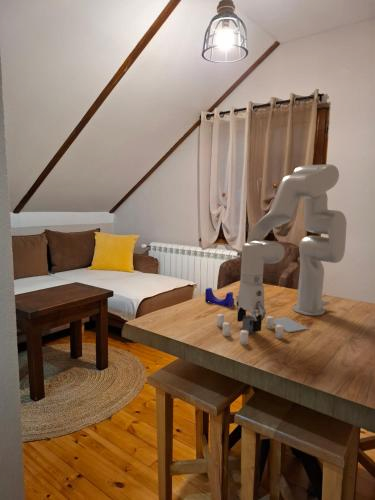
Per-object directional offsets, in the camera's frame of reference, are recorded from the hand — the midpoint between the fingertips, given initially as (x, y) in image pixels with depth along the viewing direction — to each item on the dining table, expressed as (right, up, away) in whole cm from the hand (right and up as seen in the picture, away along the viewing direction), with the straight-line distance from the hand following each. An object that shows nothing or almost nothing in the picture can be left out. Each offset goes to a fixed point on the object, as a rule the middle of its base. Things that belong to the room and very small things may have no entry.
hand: (248, 325), depth 122 cm
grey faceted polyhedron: (0, -2, 0) cm, 2 cm away
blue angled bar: (-7, +3, +31) cm, 32 cm away
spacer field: (0, -2, 0) cm, 2 cm away
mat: (+16, -1, +7) cm, 17 cm away
